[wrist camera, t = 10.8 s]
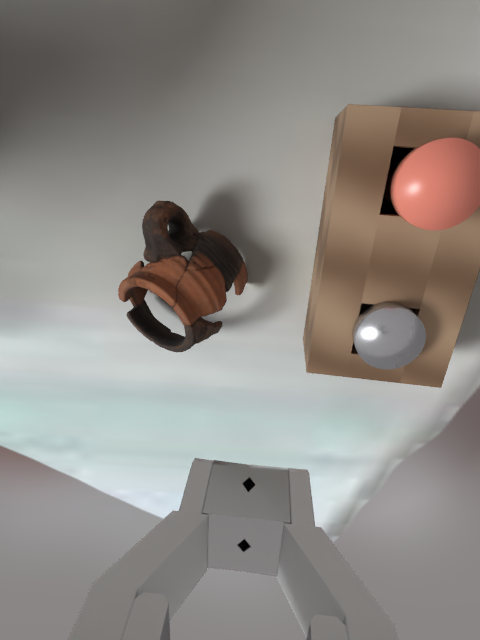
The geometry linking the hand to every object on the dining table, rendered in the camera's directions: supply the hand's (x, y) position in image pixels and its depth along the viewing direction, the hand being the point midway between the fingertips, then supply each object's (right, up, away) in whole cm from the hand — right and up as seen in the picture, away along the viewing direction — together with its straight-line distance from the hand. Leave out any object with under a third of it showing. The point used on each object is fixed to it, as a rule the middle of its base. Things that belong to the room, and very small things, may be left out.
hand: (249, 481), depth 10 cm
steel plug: (+11, +5, +21) cm, 25 cm away
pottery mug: (-5, +9, +23) cm, 25 cm away
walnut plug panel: (+11, +10, +20) cm, 25 cm away
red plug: (+11, +14, +16) cm, 24 cm away
